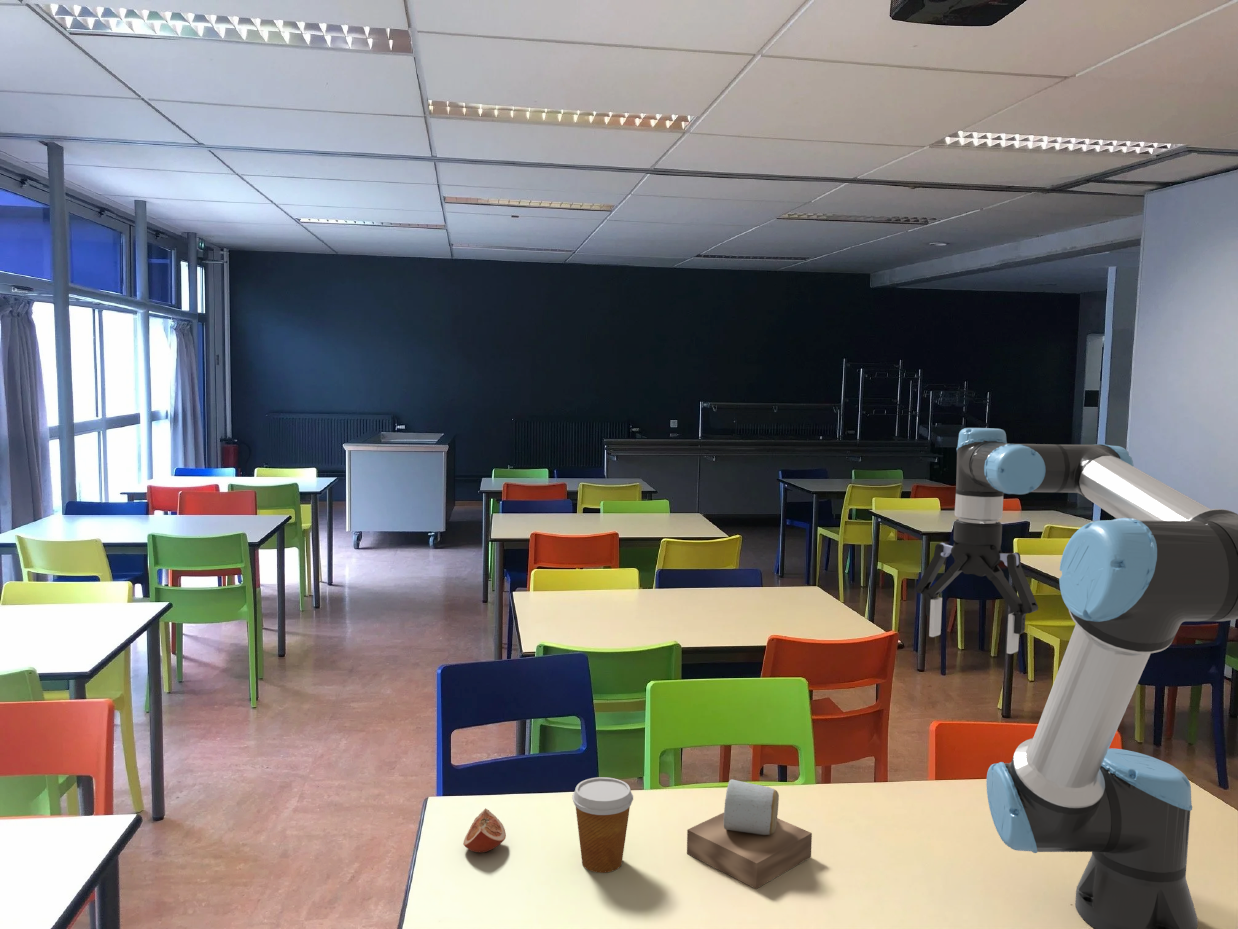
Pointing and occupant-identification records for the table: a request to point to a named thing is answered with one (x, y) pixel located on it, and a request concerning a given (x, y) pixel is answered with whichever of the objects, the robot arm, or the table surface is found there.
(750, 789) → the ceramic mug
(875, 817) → the table surface
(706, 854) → the block
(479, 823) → the fruit slice
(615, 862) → the disposable coffee cup
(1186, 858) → the robot arm
